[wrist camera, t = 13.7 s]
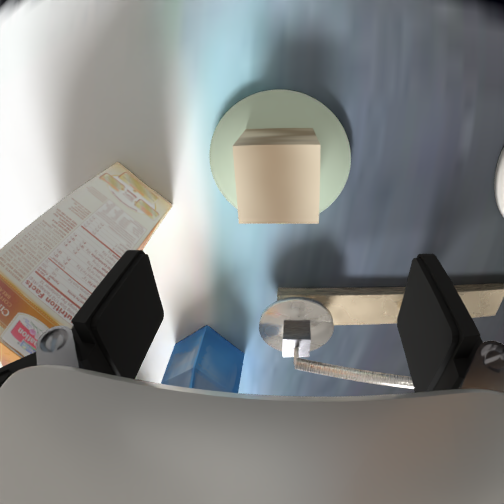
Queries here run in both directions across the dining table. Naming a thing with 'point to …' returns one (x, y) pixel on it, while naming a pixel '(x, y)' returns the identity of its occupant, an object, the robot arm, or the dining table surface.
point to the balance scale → (349, 321)
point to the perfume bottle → (205, 363)
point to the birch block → (277, 175)
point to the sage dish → (282, 116)
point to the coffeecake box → (71, 255)
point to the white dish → (499, 183)
